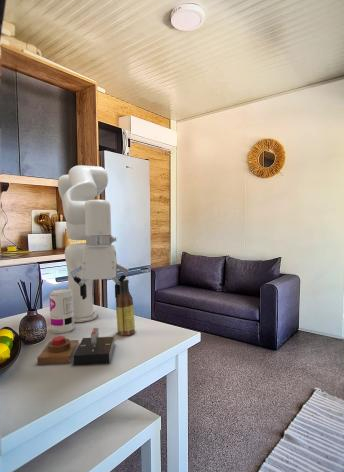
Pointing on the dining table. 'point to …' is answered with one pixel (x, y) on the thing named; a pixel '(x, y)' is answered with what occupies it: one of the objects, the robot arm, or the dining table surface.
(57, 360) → the button block
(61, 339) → the button
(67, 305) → the supplement can
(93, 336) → the grey flat block
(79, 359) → the switch base
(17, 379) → the dining table surface
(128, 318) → the sauce bottle
